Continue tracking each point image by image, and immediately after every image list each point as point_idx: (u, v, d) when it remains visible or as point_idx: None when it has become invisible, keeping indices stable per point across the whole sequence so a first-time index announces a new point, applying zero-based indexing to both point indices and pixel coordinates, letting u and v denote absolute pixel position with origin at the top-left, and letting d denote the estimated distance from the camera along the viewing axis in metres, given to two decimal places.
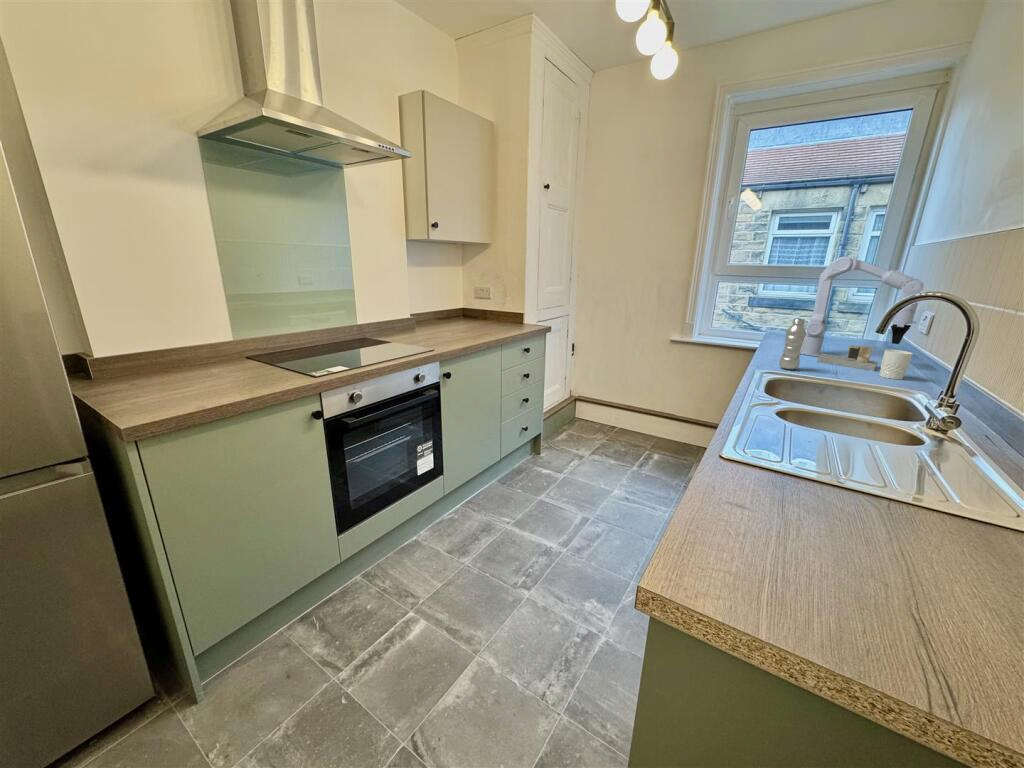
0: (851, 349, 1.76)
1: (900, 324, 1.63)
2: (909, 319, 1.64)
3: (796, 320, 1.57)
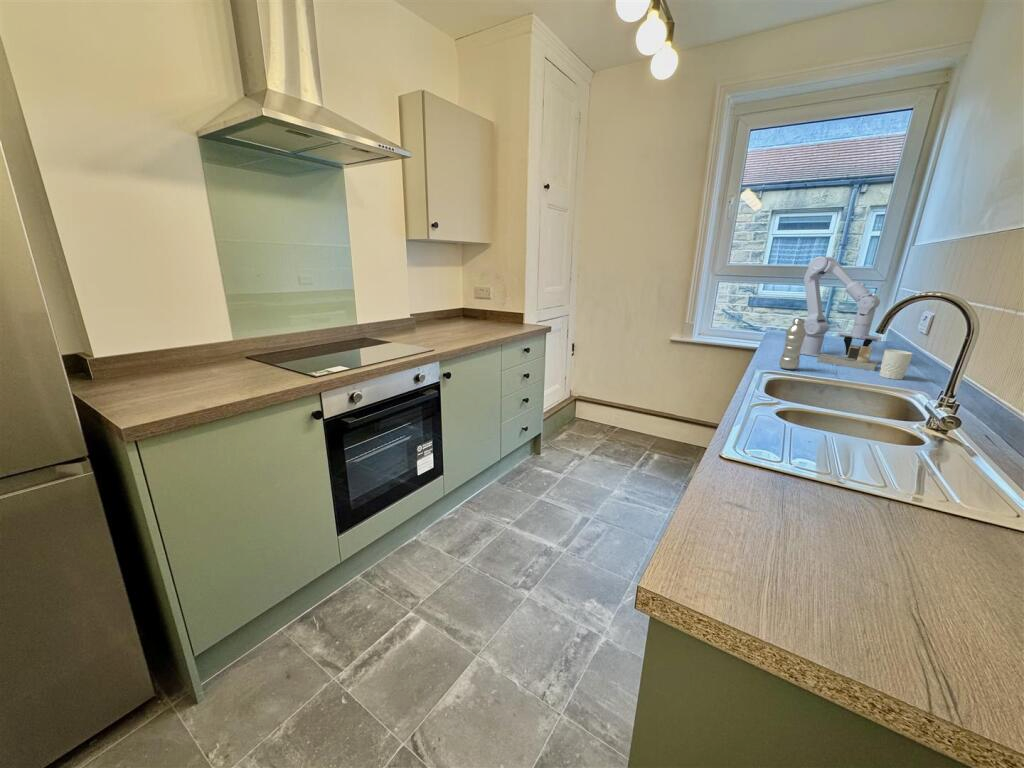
0: (851, 349, 1.76)
1: (838, 334, 1.80)
2: (852, 332, 1.75)
3: (796, 320, 1.57)
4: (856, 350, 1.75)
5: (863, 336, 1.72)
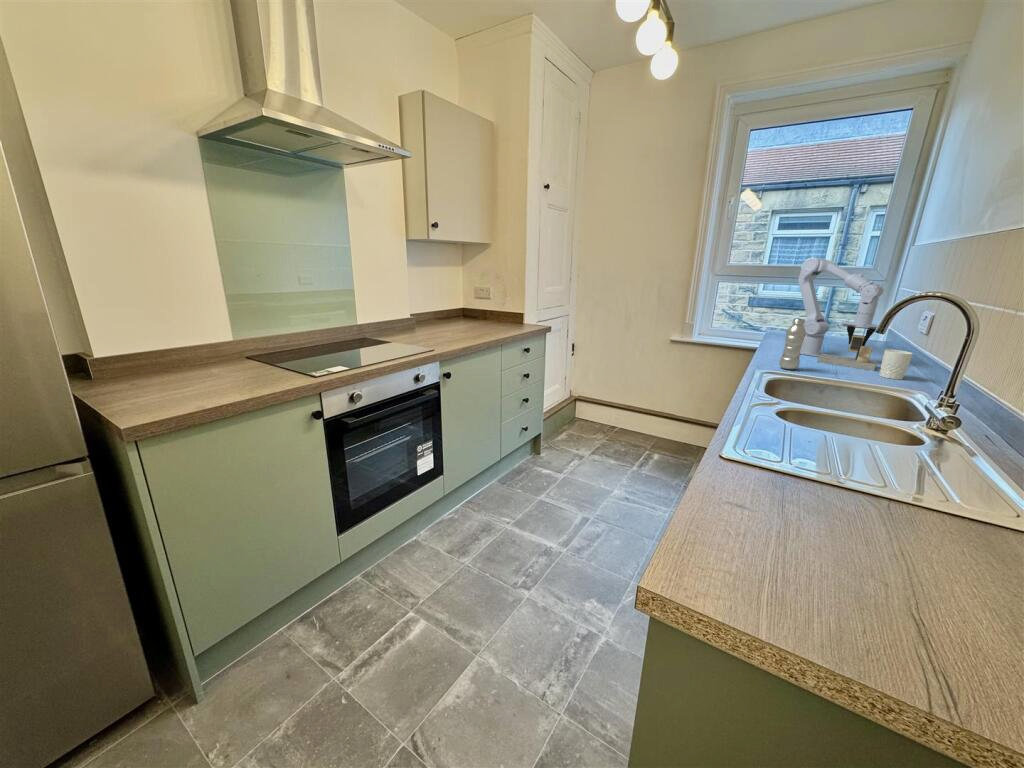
0: (854, 338, 1.74)
1: None
2: (855, 321, 1.73)
3: (796, 320, 1.57)
4: (859, 339, 1.73)
5: (866, 325, 1.71)
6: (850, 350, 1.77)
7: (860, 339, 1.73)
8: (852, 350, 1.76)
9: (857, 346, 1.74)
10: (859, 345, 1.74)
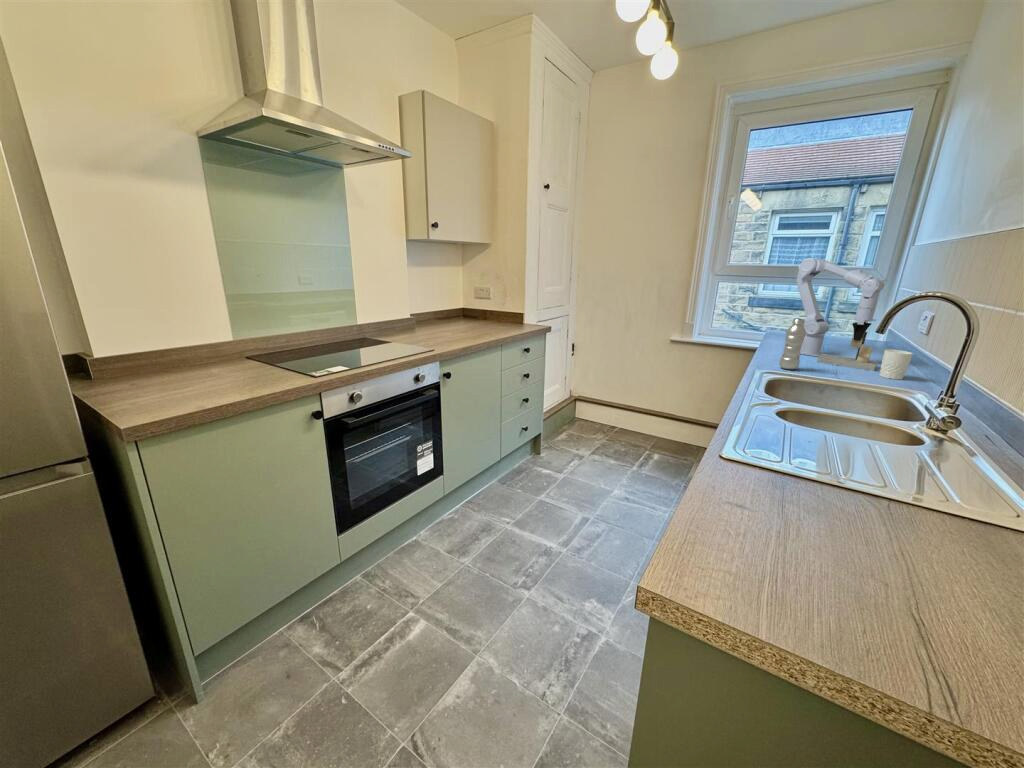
0: (866, 334, 1.72)
1: (860, 322, 1.68)
2: (869, 317, 1.70)
3: (796, 320, 1.57)
4: (866, 334, 1.73)
5: None
6: (860, 346, 1.74)
7: (866, 333, 1.74)
8: None
9: (864, 341, 1.74)
10: None
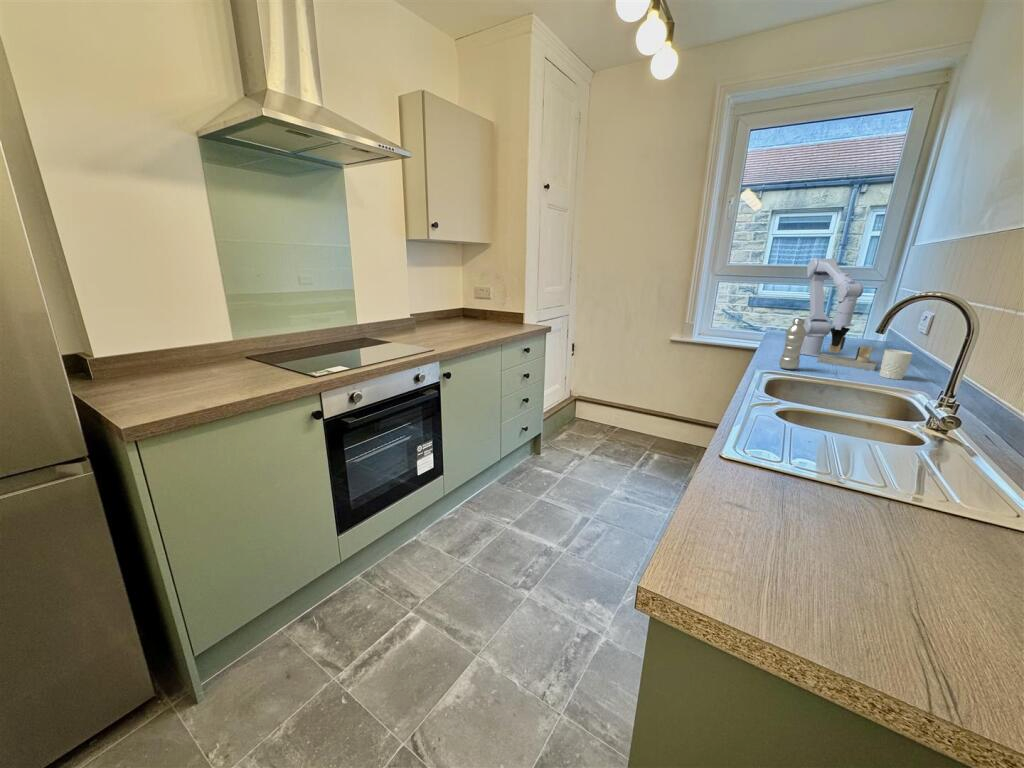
0: (844, 339, 1.71)
1: (837, 327, 1.67)
2: (846, 322, 1.68)
3: (796, 320, 1.57)
4: None
5: None
6: (839, 351, 1.73)
7: (845, 338, 1.72)
8: (839, 351, 1.73)
9: None
10: (843, 344, 1.73)
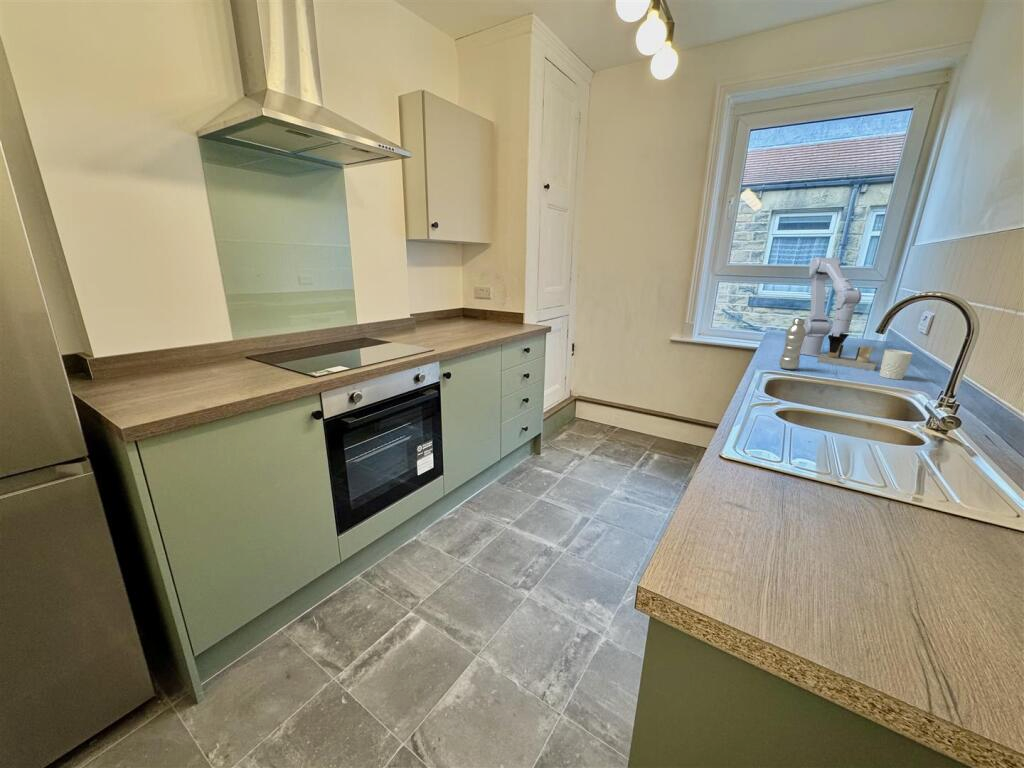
0: (842, 347, 1.72)
1: (836, 334, 1.68)
2: (845, 329, 1.69)
3: (796, 320, 1.57)
4: (842, 347, 1.73)
5: None
6: None
7: None
8: None
9: None
10: (841, 352, 1.74)
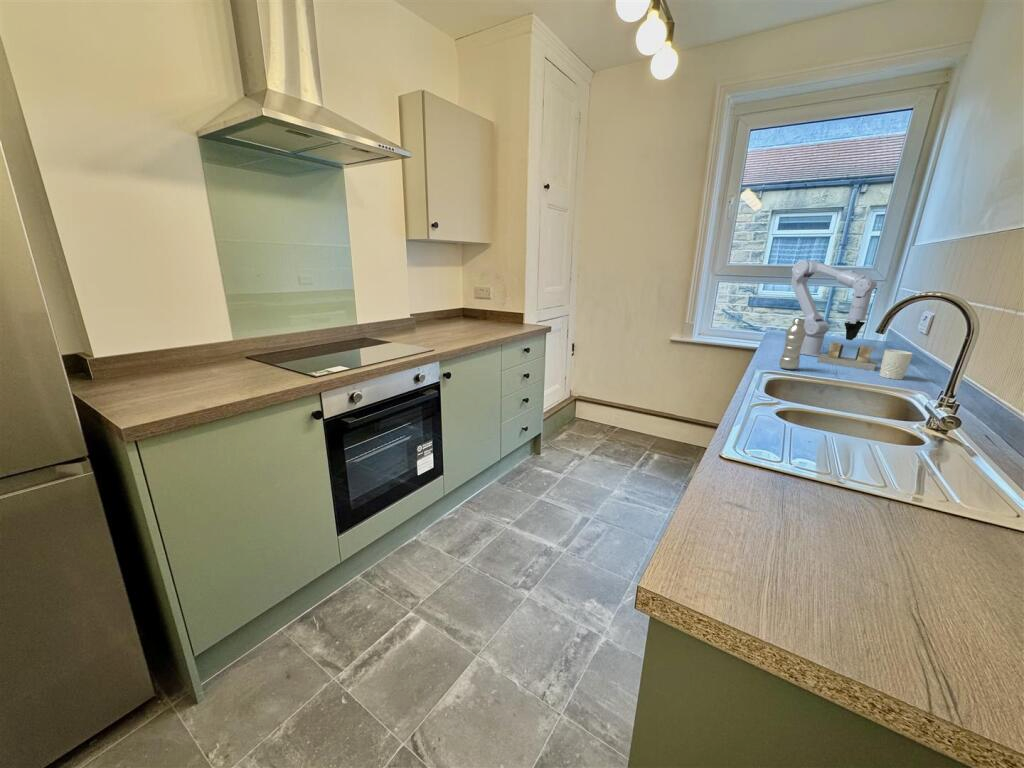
0: (842, 347, 1.72)
1: (852, 321, 1.70)
2: (861, 316, 1.72)
3: (796, 320, 1.57)
4: (842, 347, 1.73)
5: None
6: None
7: None
8: None
9: None
10: (841, 352, 1.74)
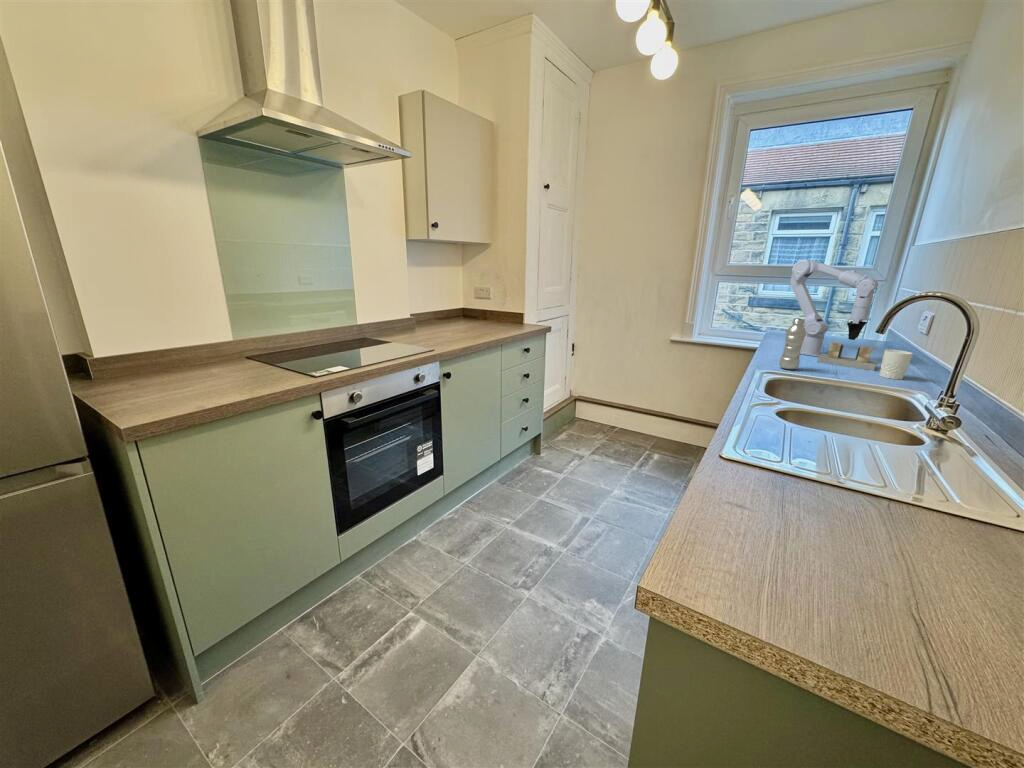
0: (842, 347, 1.72)
1: (855, 321, 1.71)
2: (864, 316, 1.72)
3: (796, 320, 1.57)
4: (842, 347, 1.73)
5: None
6: None
7: None
8: None
9: None
10: (841, 352, 1.74)
